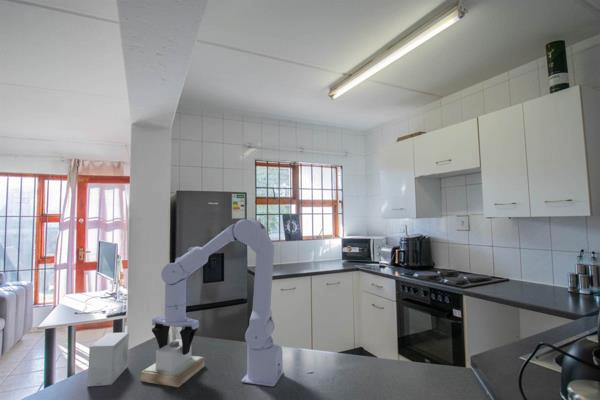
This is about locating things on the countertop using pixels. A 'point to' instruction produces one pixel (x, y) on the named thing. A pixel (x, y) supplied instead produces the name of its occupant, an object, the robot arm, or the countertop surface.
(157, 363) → the block
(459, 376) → the countertop surface
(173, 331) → the milkshake
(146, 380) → the stand
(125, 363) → the skincare box
